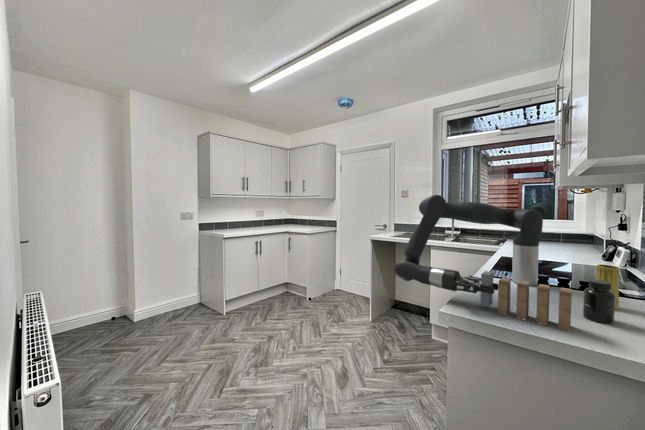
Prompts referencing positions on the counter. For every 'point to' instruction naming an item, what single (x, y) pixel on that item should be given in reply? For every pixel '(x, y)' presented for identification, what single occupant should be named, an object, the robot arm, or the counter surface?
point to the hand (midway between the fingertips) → (495, 288)
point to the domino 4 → (543, 304)
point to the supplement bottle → (599, 302)
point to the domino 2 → (504, 296)
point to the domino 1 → (486, 281)
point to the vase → (610, 279)
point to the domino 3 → (522, 300)
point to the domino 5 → (565, 308)
